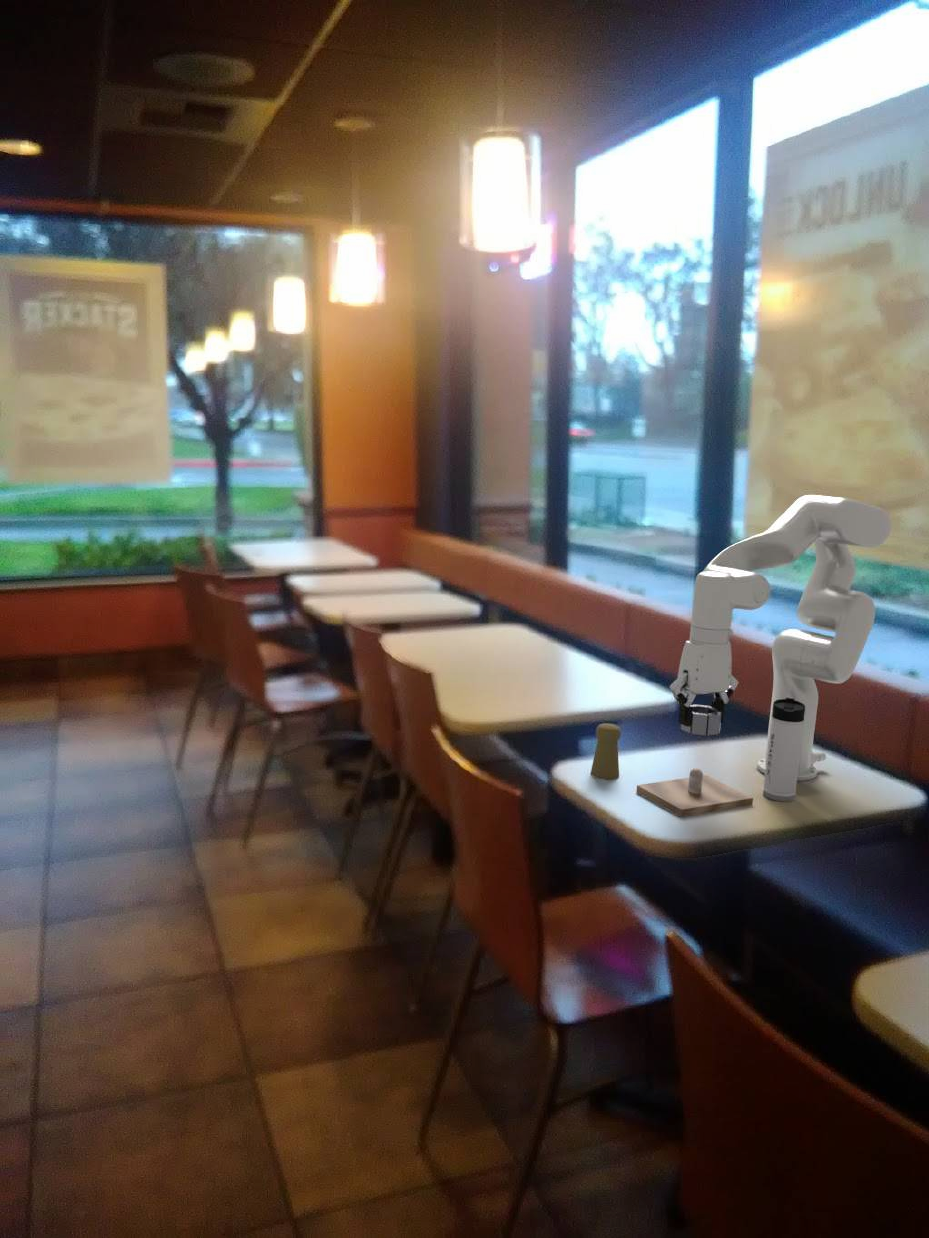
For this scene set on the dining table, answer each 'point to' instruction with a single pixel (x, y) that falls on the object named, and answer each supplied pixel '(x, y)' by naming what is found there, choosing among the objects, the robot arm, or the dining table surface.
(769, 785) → the travel mug
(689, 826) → the dining table surface
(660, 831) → the dining table surface
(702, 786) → the board
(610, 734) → the cork
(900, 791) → the dining table surface
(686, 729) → the steel ring
